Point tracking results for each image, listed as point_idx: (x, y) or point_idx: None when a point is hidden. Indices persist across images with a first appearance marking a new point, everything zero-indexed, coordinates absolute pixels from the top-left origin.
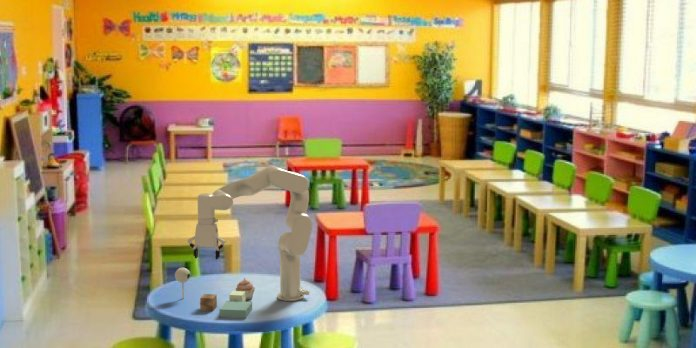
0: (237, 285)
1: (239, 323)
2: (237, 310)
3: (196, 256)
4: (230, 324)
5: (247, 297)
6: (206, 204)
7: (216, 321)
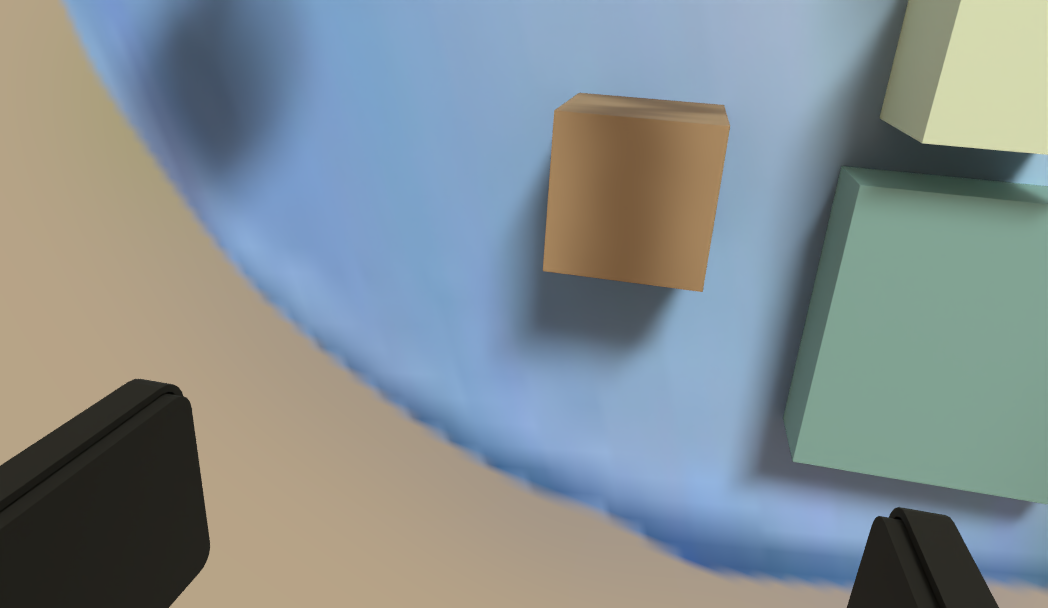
0: None
1: None
2: (999, 494)
3: (175, 581)
4: None
5: None
6: None
7: (763, 517)
